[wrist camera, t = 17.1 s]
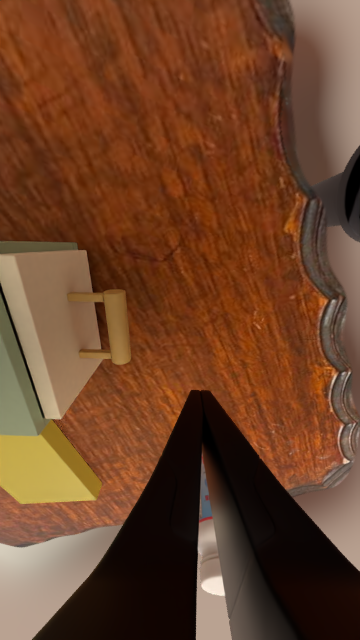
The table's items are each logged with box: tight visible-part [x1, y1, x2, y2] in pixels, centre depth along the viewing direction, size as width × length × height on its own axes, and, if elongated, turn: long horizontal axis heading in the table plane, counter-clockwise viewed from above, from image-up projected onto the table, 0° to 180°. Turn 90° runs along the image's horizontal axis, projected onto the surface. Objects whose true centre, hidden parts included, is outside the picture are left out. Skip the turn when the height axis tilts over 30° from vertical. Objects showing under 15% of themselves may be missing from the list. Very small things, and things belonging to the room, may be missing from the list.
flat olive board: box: [0, 419, 102, 504], centre depth 27 cm, size 12×2×24 cm
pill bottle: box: [198, 455, 225, 596], centre depth 23 cm, size 6×6×11 cm
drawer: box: [0, 250, 131, 419], centre depth 15 cm, size 18×11×8 cm, turn 89°
